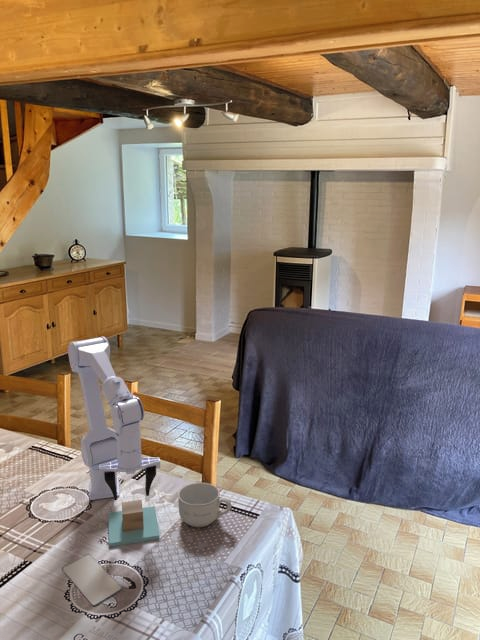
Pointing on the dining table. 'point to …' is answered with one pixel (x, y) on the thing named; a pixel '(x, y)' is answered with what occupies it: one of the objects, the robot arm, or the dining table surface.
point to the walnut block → (132, 515)
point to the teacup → (201, 504)
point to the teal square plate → (133, 536)
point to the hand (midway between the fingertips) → (131, 495)
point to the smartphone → (92, 580)
